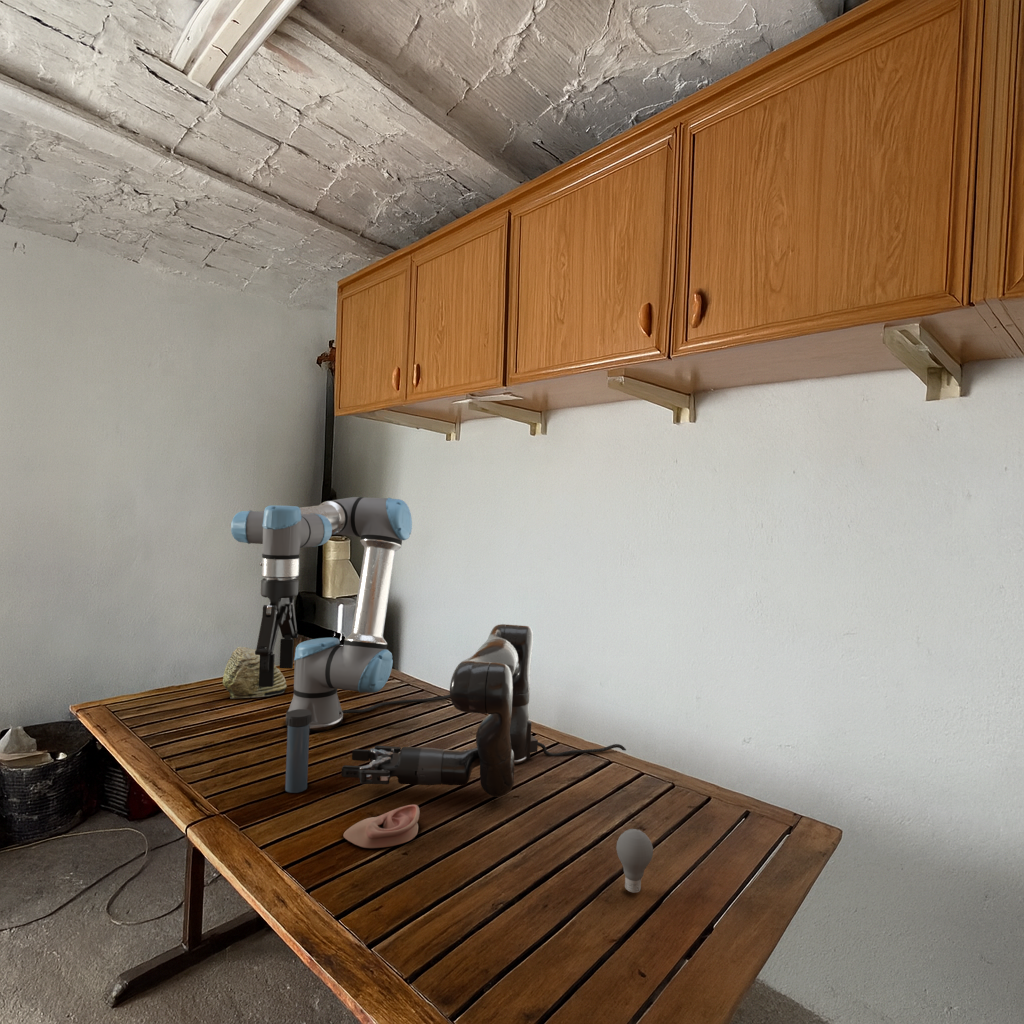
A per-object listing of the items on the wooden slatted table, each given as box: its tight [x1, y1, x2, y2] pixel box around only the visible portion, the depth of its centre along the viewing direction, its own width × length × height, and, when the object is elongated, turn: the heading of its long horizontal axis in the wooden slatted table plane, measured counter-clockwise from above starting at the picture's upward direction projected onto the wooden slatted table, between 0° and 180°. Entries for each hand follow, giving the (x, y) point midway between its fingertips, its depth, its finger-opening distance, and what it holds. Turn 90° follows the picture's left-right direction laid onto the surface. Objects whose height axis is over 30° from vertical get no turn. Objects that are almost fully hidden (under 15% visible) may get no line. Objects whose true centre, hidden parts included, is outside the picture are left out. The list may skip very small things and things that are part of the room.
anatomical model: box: [342, 804, 421, 849], centre depth 120 cm, size 13×4×12 cm
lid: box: [285, 709, 312, 727], centre depth 137 cm, size 5×5×2 cm
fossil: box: [222, 646, 288, 699], centre depth 198 cm, size 9×18×15 cm, turn 132°
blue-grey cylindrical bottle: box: [284, 724, 310, 794], centre depth 137 cm, size 5×5×16 cm
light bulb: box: [615, 828, 654, 894], centre depth 106 cm, size 6×6×10 cm
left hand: (276, 676), depth 136 cm, fingers open, 13 cm apart
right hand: (347, 762), depth 137 cm, fingers open, 8 cm apart
